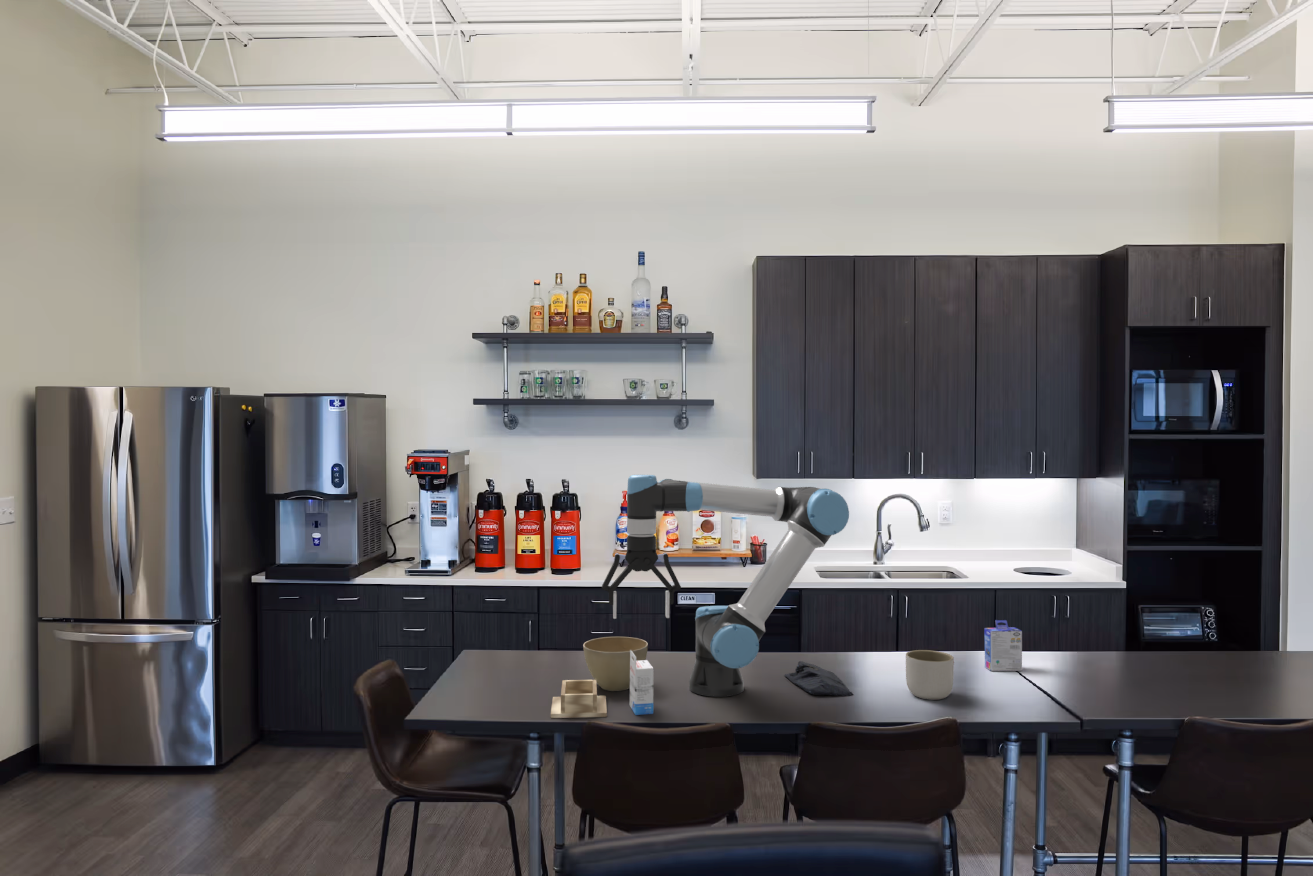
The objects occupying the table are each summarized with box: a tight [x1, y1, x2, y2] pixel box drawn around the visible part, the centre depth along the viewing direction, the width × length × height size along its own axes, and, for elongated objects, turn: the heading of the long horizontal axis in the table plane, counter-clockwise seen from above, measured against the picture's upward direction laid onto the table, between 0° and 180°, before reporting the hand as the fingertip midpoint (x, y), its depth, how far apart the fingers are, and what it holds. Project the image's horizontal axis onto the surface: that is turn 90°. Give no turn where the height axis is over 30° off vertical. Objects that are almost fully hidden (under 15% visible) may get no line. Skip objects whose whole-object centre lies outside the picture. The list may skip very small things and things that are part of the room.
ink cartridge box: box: [983, 619, 1023, 672], centre depth 258 cm, size 10×6×14 cm, turn 92°
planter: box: [905, 649, 955, 701], centre depth 232 cm, size 12×12×11 cm
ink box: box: [629, 650, 655, 716], centre depth 219 cm, size 8×5×15 cm, turn 13°
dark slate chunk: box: [784, 660, 854, 697], centre depth 241 cm, size 15×22×5 cm
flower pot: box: [582, 636, 649, 692], centre depth 239 cm, size 18×18×12 cm
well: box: [550, 679, 608, 719], centre depth 220 cm, size 14×14×6 cm
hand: (641, 617), depth 219 cm, fingers open, 13 cm apart
